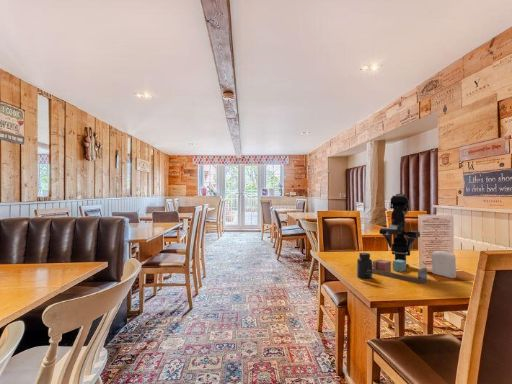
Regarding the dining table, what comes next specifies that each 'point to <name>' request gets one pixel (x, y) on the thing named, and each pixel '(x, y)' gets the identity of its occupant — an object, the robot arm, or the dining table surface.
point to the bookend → (423, 274)
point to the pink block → (384, 265)
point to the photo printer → (444, 264)
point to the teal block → (399, 265)
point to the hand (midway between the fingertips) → (399, 249)
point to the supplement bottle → (364, 266)
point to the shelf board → (394, 274)
